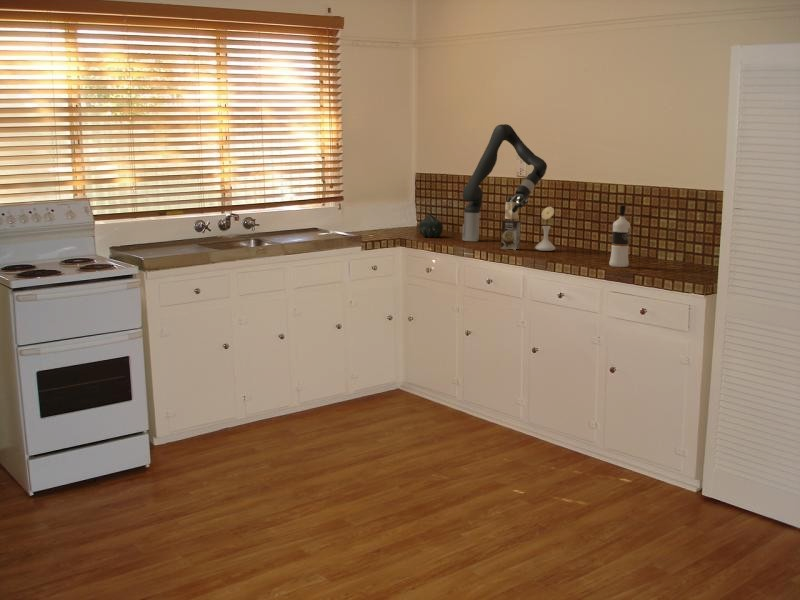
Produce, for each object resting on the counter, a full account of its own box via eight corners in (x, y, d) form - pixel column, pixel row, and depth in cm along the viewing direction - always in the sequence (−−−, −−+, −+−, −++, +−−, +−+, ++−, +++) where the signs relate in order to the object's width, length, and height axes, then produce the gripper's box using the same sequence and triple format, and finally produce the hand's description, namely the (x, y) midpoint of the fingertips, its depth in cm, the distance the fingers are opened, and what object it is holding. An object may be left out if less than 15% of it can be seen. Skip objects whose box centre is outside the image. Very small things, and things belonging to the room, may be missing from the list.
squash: (440, 227, 566) (427, 209, 560) (450, 230, 552) (436, 212, 546) (424, 242, 564) (410, 224, 558) (433, 245, 550) (419, 227, 545)
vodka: (612, 264, 442) (617, 204, 437) (631, 266, 437) (635, 205, 432) (606, 266, 434) (610, 204, 429) (624, 268, 429) (629, 206, 424)
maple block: (504, 218, 497) (505, 202, 495) (511, 218, 500) (511, 202, 498) (511, 219, 493) (512, 202, 492) (517, 218, 496) (518, 202, 495)
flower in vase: (531, 249, 499) (533, 205, 495) (548, 249, 503) (551, 205, 499) (542, 252, 487) (544, 207, 483) (560, 252, 491) (563, 207, 487)
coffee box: (500, 249, 499) (501, 220, 496) (504, 248, 504) (505, 219, 502) (515, 250, 494) (516, 221, 492) (519, 249, 500) (520, 220, 497)
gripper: (512, 184, 504) (497, 205, 498) (531, 185, 493) (515, 207, 487) (518, 193, 508) (503, 215, 502) (537, 194, 497) (521, 216, 491)
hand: (509, 211), depth 495 cm, fingers closed on maple block, 5 cm apart
